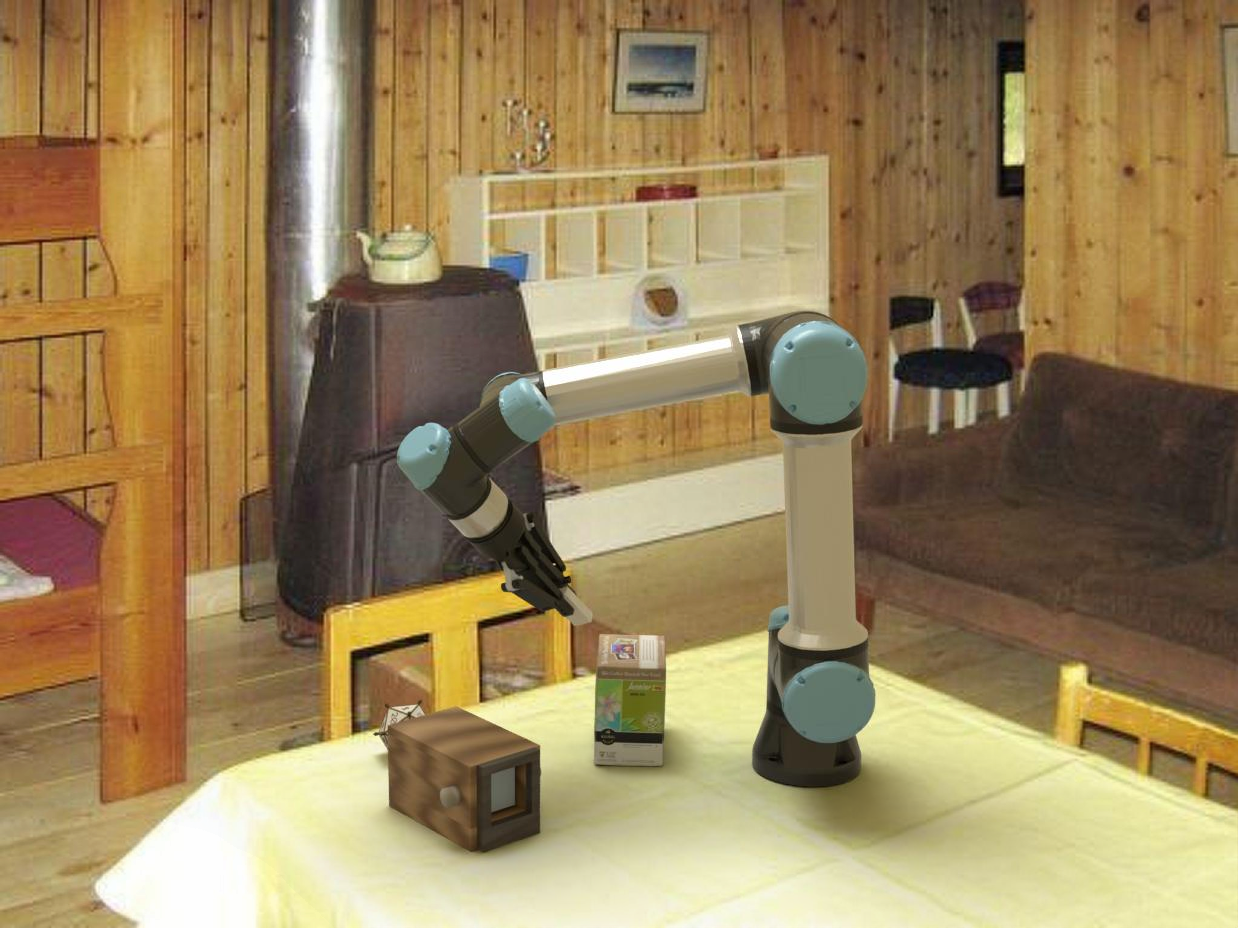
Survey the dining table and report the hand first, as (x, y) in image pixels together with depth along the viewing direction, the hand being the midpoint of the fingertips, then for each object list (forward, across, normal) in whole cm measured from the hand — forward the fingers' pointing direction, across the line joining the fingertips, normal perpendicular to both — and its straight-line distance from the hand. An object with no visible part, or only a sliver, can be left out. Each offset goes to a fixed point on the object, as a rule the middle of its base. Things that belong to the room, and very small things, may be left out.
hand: (583, 619), depth 243 cm
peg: (-3, +27, -12) cm, 29 cm away
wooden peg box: (-1, +29, -13) cm, 32 cm away
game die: (+3, +14, -29) cm, 33 cm away
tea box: (+22, +6, -5) cm, 23 cm away
